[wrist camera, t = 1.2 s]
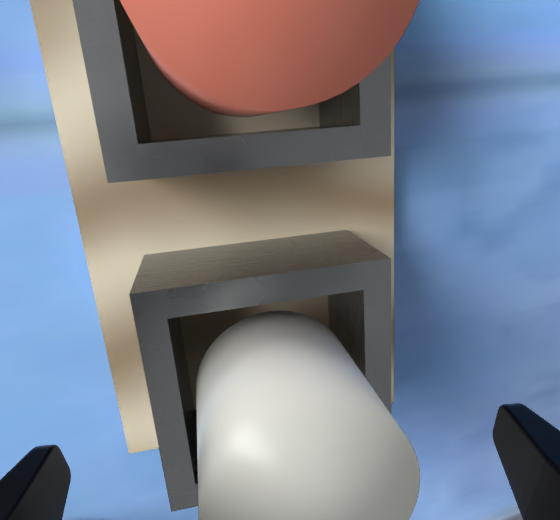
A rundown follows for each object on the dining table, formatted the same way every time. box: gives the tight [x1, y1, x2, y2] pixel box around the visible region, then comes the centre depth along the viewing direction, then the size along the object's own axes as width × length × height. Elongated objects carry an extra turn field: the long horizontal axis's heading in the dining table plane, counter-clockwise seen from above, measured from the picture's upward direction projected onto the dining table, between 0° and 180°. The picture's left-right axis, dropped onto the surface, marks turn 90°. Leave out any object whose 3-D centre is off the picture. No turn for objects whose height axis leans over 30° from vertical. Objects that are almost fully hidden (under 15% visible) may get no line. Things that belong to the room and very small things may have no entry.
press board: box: [30, 0, 394, 454], centre depth 19 cm, size 22×13×2 cm, turn 5°
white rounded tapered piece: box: [196, 311, 420, 520], centre depth 13 cm, size 6×6×6 cm
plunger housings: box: [72, 0, 391, 512], centre depth 16 cm, size 21×9×4 cm, turn 5°
